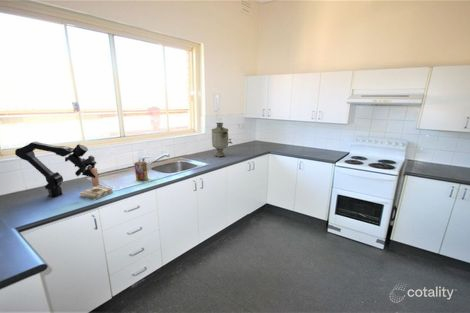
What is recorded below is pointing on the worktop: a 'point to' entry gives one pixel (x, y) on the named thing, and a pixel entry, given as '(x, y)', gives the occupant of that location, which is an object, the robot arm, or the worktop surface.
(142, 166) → the candy box
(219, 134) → the samovar
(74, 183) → the worktop surface
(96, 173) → the terracotta peg
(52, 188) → the robot arm
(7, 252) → the worktop surface
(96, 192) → the pocket block
